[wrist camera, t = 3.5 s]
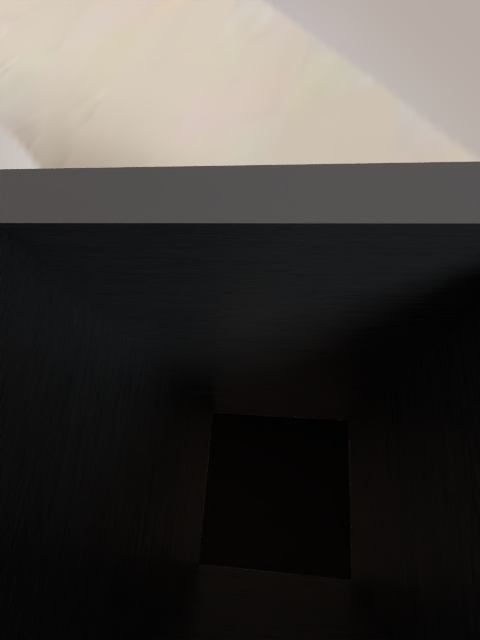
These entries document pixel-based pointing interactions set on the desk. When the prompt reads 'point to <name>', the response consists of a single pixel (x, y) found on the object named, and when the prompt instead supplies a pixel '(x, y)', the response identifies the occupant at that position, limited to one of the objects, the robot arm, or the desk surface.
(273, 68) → the desk surface
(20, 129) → the desk surface
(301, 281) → the socket sleeve
